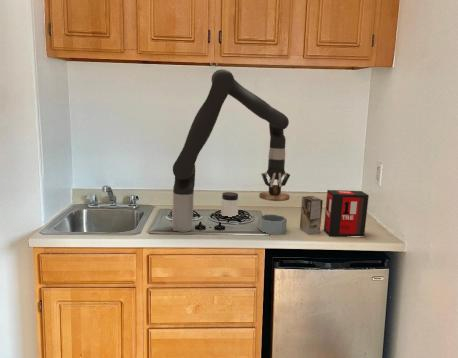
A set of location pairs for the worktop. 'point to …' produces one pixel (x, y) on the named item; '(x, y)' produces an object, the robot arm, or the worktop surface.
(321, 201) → the coffee box
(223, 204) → the jar
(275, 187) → the lid
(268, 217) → the bowl
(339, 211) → the cleaning product box
